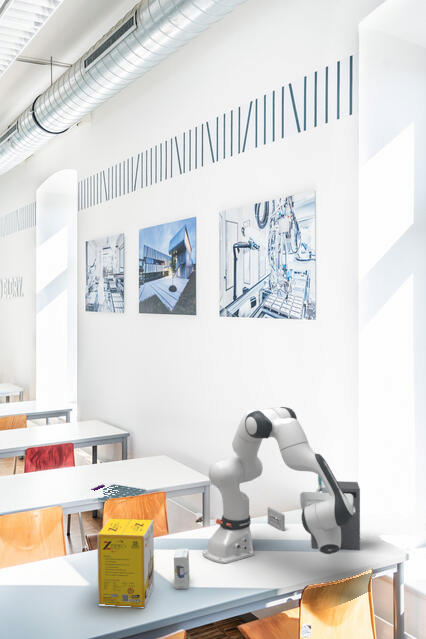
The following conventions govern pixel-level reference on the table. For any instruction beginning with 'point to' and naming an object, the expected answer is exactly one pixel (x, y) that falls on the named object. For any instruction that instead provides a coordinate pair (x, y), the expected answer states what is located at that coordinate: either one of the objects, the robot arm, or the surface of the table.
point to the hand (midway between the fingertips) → (325, 486)
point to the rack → (352, 530)
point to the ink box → (181, 569)
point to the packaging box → (125, 562)
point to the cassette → (279, 520)
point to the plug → (320, 482)
